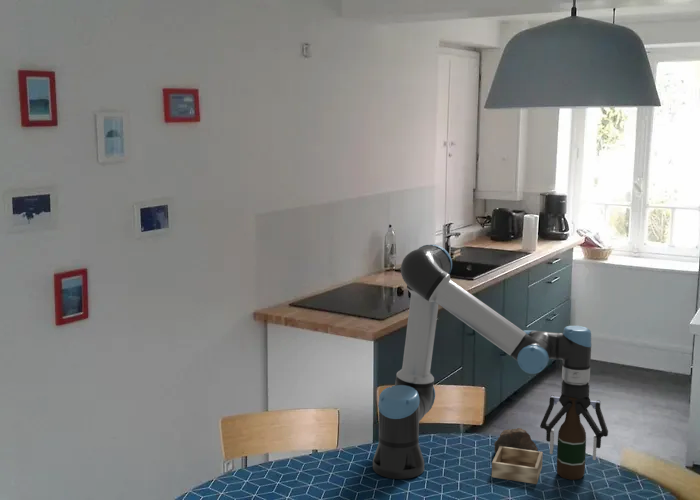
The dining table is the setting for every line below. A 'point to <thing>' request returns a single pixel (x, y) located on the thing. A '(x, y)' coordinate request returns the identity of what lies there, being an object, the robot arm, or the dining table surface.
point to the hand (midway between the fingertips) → (572, 455)
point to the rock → (515, 440)
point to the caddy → (517, 464)
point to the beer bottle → (571, 446)
